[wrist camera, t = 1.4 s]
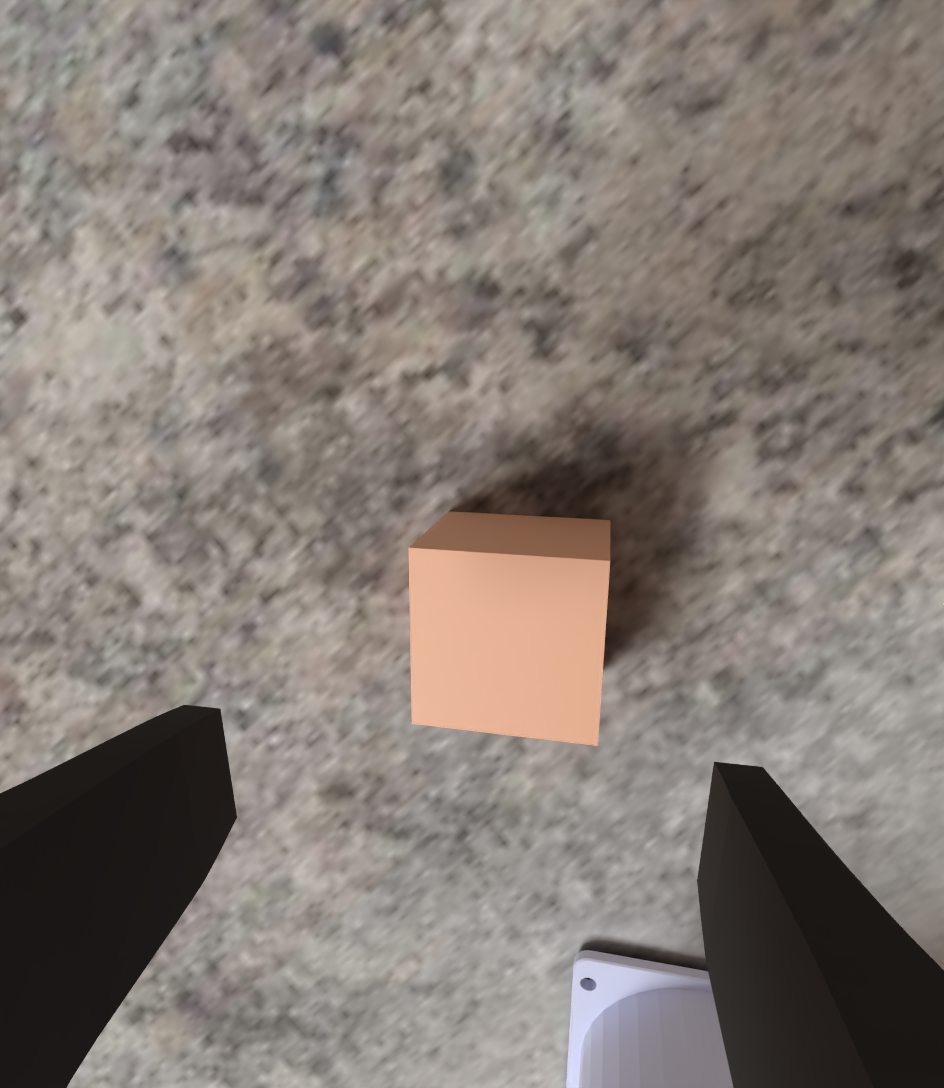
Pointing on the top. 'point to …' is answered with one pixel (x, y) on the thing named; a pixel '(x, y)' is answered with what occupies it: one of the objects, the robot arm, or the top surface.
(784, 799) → the robot arm
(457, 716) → the terracotta block
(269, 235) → the top surface
